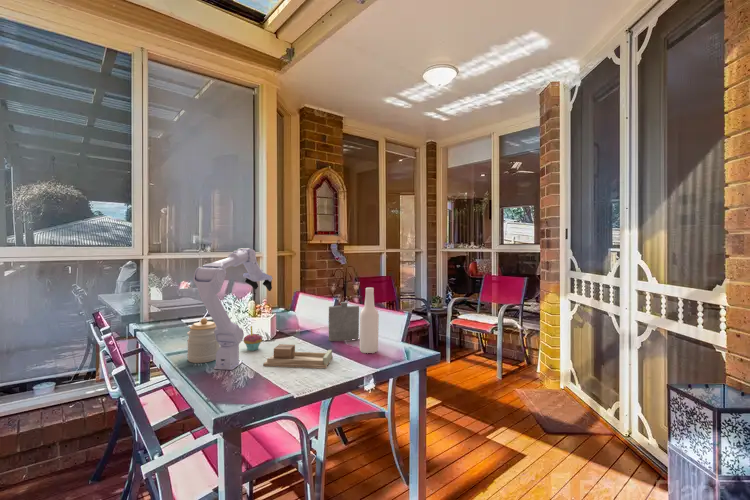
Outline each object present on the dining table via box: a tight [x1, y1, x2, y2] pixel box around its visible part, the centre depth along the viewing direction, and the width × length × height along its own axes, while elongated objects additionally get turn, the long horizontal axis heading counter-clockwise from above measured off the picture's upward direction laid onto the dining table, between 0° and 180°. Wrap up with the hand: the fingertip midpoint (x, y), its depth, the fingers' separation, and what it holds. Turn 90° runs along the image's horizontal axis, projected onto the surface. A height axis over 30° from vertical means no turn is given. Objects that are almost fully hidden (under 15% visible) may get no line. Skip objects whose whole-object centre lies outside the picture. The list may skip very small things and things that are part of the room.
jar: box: [186, 317, 220, 364], centre depth 160 cm, size 13×13×18 cm
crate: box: [273, 343, 296, 359], centre depth 158 cm, size 7×7×5 cm
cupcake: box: [243, 325, 263, 352], centre depth 174 cm, size 9×8×12 cm
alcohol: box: [359, 286, 380, 355], centre depth 174 cm, size 9×9×30 cm
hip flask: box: [328, 301, 360, 342], centre depth 193 cm, size 16×4×20 cm, turn 103°
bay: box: [262, 349, 333, 369], centre depth 157 cm, size 14×26×4 cm, turn 85°
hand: (263, 288), depth 177 cm, fingers open, 7 cm apart
